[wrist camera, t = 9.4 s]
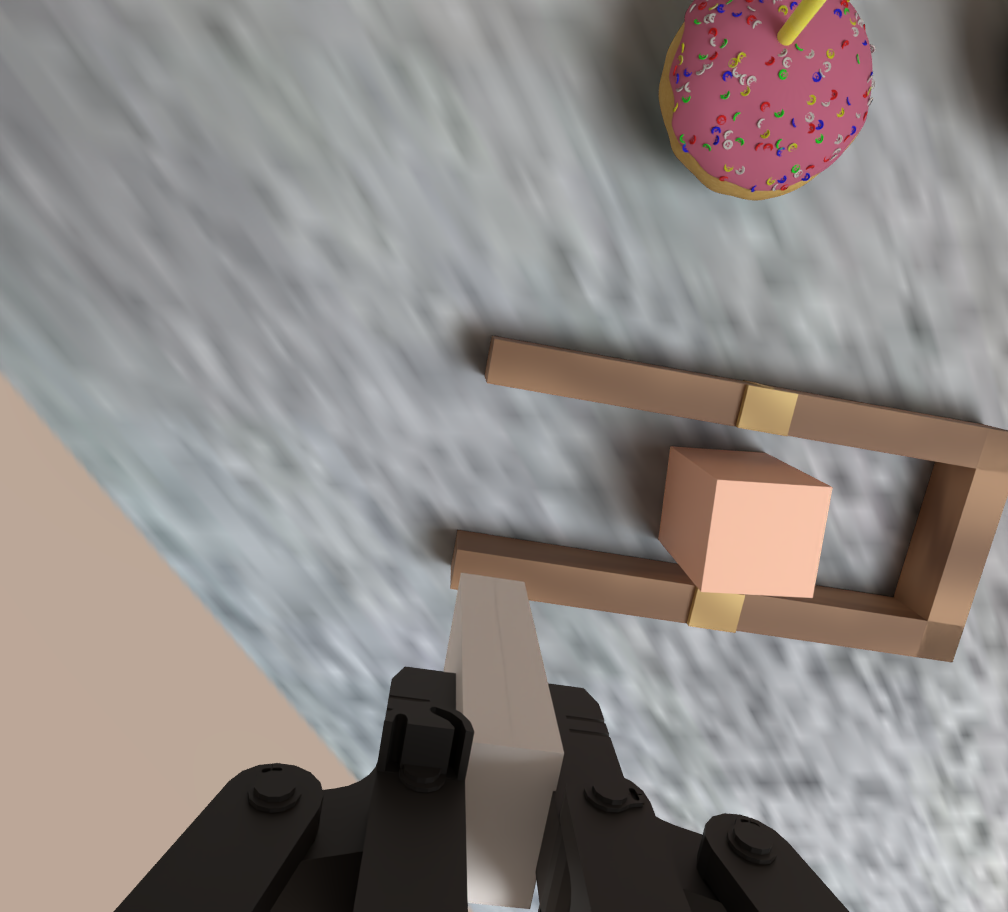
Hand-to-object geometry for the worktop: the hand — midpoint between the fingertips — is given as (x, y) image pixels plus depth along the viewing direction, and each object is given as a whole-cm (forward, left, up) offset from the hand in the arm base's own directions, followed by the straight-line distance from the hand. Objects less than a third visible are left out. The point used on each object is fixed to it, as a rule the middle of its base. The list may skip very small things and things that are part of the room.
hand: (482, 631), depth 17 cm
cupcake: (-18, +9, -20) cm, 29 cm away
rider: (0, +13, -20) cm, 24 cm away
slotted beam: (0, +13, -20) cm, 24 cm away
